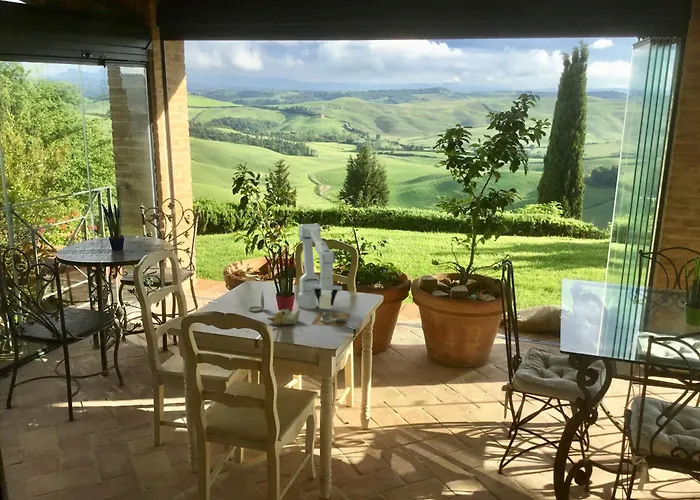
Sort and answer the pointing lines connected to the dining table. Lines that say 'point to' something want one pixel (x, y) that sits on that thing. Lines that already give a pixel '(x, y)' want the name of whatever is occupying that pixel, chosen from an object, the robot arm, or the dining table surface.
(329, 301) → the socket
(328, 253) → the robot arm
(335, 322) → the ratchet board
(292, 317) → the ceramic sculpture
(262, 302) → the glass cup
